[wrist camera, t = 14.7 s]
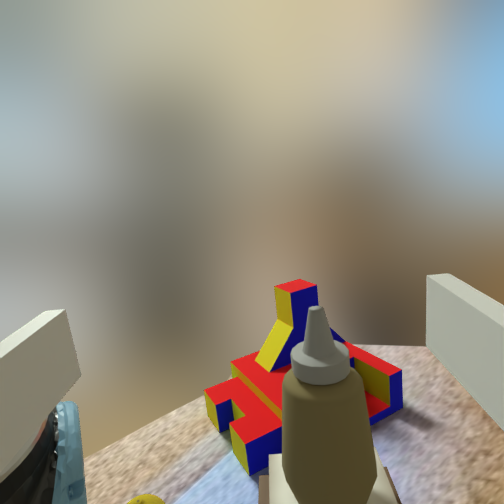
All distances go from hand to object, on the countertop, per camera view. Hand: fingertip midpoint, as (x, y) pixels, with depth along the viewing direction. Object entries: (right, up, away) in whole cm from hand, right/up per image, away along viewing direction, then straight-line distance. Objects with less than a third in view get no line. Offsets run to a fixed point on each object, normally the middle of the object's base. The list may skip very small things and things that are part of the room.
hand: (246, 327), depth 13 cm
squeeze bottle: (+7, -19, +19) cm, 28 cm away
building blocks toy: (+8, -22, +44) cm, 50 cm away
